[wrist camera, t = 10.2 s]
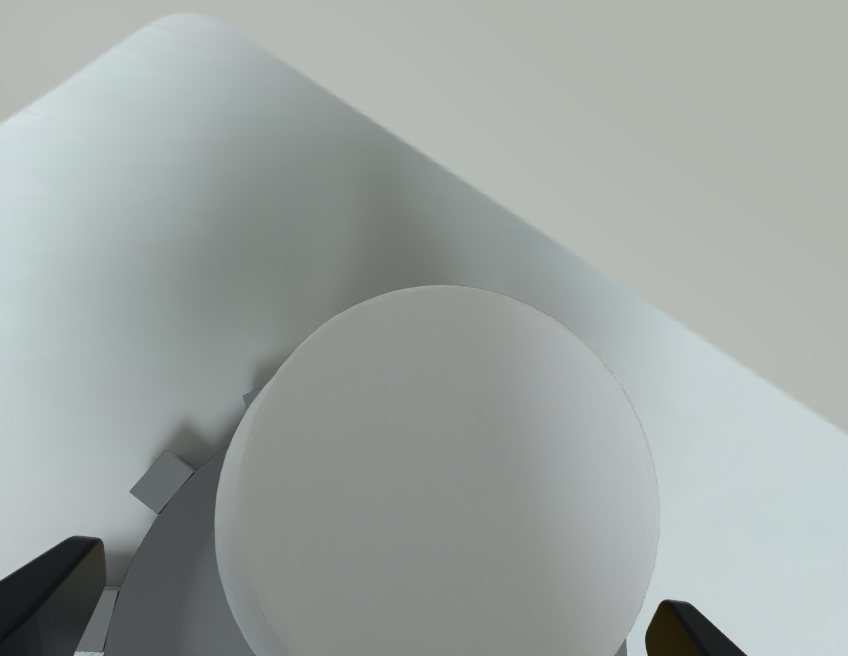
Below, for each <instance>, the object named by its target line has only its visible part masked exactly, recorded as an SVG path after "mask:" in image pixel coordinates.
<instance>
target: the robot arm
mask: <svg viewBox="0 0 848 656" xmlns="http://www.w3.org/2000/svg"><path fill="white" fill-rule="evenodd" d="M105 583H106V565H105V553H104V544H103V541H102V540H101V539H100V538H96V537H87V536H72V537H69V538H67V539H65V540H64V541H62V542H61V543H59V544H58V545H56V546H54V547H53V548H51V549H50V550H48V551H46V552H45V553H43V554H42V555H40V556H38V557H37V558H35V559H34V560H32V561H31V562H29V563H27V564H26V565H24V566H23V567H21V568H19V569H18V570H16V571H15V572H13V573H12V574H10V575H8V576H7V577H5V578H4V579H2V580H0V656H73V655H74V653H75V651H76V649H77V647H78V645H79V643H80V640H81V638H82V636H83V634H84V632H85V630H86V628H87V625H88V623H89V621H90V619H91V617H92V615H93V613H94V610H95V608H96V606H97V604H98V602H99V600H100V598H101V595H102V593H103V590H104V587H105ZM645 644H646V650H647V654H648V656H747V655H746V654H745V653H744V652H743V651H742V650H740V649H739V648H738V647H737V646H736V645H735V644H734V643H733V642H732V641H731V640H730V639H729V638H727V637H726V636H725V635H724V634H723V633H722V632H721V631H720V630H719V629H718V628H717V627H715V626H714V625H713V624H712V623H711V622H710V621H709V620H708V619H707V618H706V617H705V616H704V615H702V614H701V613H700V612H699V611H698V610H697V609H696V608H695V607H694V606H692V605H691V604H690V603H688V602H685V601H677V600H668V599H667V600H663V601H662V602H661V603H660V604H659V606H658V608H657V610H656V612H655V614H654V616H653V619H652V621H651V623H650V625H649V627H648V629H647V631H646V636H645Z"/></svg>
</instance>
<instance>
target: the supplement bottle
mask: <svg viewBox="0 0 848 656" xmlns="http://www.w3.org/2000/svg"><path fill="white" fill-rule="evenodd" d="M214 522H215V550H216V558H217V564H218V570H219V575H220V578H221V581H222V585H223V588H224V592H225V595H226V599H227V601H228V604H229V606H230V609H231V611H232V614H233V616H234V618H235V620H236V622H237V624H238V626H239V628H240V630H241V632H242V634H243V636H244V638H245V639H246V641H247V642H248V644H249V646H250V647H251V649H252V650H253V652H254V653H255V655H256V656H615V654H616V653H617V651H618V650H619V648H620V646H621V645H622V643H623V642H624V640H625V638H626V637H627V635H628V634H629V632H630V631H631V629H632V627H633V625H634V623H635V621H636V618H637V616H638V614H639V612H640V610H641V608H642V605H643V602H644V599H645V595H646V592H647V589H648V586H649V583H650V580H651V576H652V573H653V570H654V566H655V560H656V555H657V548H658V540H659V529H660V509H659V493H658V484H657V477H656V472H655V466H654V462H653V458H652V455H651V451H650V447H649V444H648V441H647V438H646V436H645V433H644V431H643V428H642V426H641V423H640V421H639V419H638V416H637V414H636V412H635V410H634V408H633V406H632V404H631V402H630V400H629V399H628V397H627V395H626V393H625V391H624V390H623V388H622V387H621V385H620V384H619V382H618V381H617V379H616V378H615V377H614V375H613V374H612V372H611V371H610V370H609V369H608V368H607V366H606V365H605V364H604V363H603V361H602V360H601V359H600V358H599V357H598V356H597V355H596V354H595V353H594V352H593V351H592V350H591V349H590V348H589V347H588V346H587V345H586V344H585V343H584V342H583V341H582V340H581V339H580V338H579V337H578V336H577V335H576V334H574V333H573V332H572V331H570V330H569V329H568V328H566V327H565V326H564V325H562V324H561V323H560V322H558V321H557V320H555V319H554V318H552V317H551V316H549V315H547V314H545V313H544V312H542V311H540V310H539V309H537V308H534V307H532V306H530V305H528V304H526V303H523V302H520V301H518V300H516V299H514V298H511V297H508V296H506V295H503V294H499V293H495V292H492V291H488V290H484V289H479V288H472V287H466V286H455V285H427V286H418V287H412V288H405V289H400V290H396V291H392V292H388V293H385V294H382V295H379V296H376V297H373V298H371V299H368V300H366V301H363V302H361V303H359V304H356V305H354V306H352V307H351V308H349V309H347V310H345V311H343V312H341V313H339V314H337V315H336V316H334V317H332V318H331V319H330V320H328V321H327V322H326V323H324V324H323V325H322V326H320V327H319V328H318V329H317V330H316V331H314V332H313V333H312V334H311V335H310V336H309V337H308V338H306V339H305V340H304V341H303V342H302V343H301V344H300V345H299V346H298V347H297V348H296V350H295V351H294V352H293V353H292V354H291V355H290V356H289V358H288V359H287V360H286V361H285V362H284V363H283V364H282V366H281V367H280V368H279V369H278V371H277V373H276V374H275V375H274V376H273V378H272V379H271V380H270V381H269V382H268V383H267V384H266V385H265V386H264V388H263V389H262V390H261V392H260V393H259V394H258V395H257V397H256V398H255V399H254V401H253V402H252V403H251V405H250V406H249V408H248V410H247V411H246V413H245V415H244V417H243V418H242V420H241V422H240V424H239V426H238V428H237V430H236V432H235V434H234V436H233V439H232V441H231V443H230V446H229V448H228V450H227V453H226V457H225V460H224V464H223V467H222V471H221V475H220V480H219V485H218V490H217V495H216V507H215V519H214Z"/></svg>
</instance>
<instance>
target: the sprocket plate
mask: <svg viewBox="0 0 848 656" xmlns="http://www.w3.org/2000/svg"><path fill="white" fill-rule="evenodd" d="M263 388H264V387H263ZM263 388H261V389H258V390H256V391H253V392H251V393H248V394H246V395H243V399H244V401H245V404H246V407H247V409H248V408H249V406H250V405H251V403H252V402H253V401H254V399H255V398H256V397H257V395H258V394H259V393H260V392H261V390H262V389H263ZM229 446H230V444H229V445H227V446H226V447H224V448H223V449H222V450H221V451H219V452H218V453H217V454H216V455H215V456H213V457H212V458H211V459H210V460H209V461H207V462H206V463H205V464H204V465H203V466H201V467H200V468H199V469H198V470H195V469H194V468H193V467H191V466H190V465H189V464H187V463H186V462H185V461H183V460H182V459H181V458H179V457H178V456H177V455H175V454H172V453H170V452H168V451H165V452H164V453H163V454H162V455H161V457H160V458H159V459H158V460H157V461H156V462H155V463H154V464H153V466H152V467H151V468H150V469H149V470H148V471H147V472H146V473H145V475H144V476H143V477H142V478H141V479H140V480H139V481H138V482H137V484H136V485H135V486H134V487H133V488H132V489H131V490H130V491H129V492H130V493H131V494H133V495H134V496H135V497H136V498H138V499H139V500H140V501H142V502H143V503H144V504H145V505H147V506H148V507H149V508H151V509H152V510H153V511H155V512H156V513H157V514H160V515H159V516H158V517H157V519H156V520H155V521H154V523H153V525H152V527H151V528H150V530H149V532H148V533H147V535H146V537H145V538H144V540H143V542H142V543H141V545H140V547H139V548H138V550H137V552H136V554H135V557H134V559H133V561H132V563H131V565H130V568H129V570H128V572H127V574H126V577H125V579H124V581H123V583H122V586H121V587H119V586H105V587H104V590H103V593H102V595H101V598H100V600H99V602H98V604H97V606H96V608H95V610H94V613H93V615H92V617H91V619H90V621H89V623H88V625H87V628H86V630H85V632H84V634H83V636H82V638H81V640H80V643H79V645H78V647H77V649H76V651H83V652H104V655H103V656H256V655H255V653H254V652H253V650H252V649H251V647H250V646H249V644H248V642H247V641H246V639H245V638H244V636H243V634H242V632H241V630H240V628H239V626H238V624H237V622H236V620H235V618H234V616H233V614H232V611H231V609H230V606H229V604H228V601H227V599H226V595H225V592H224V588H223V585H222V581H221V578H220V575H219V570H218V564H217V558H216V550H215V522H214V519H215V507H216V495H217V490H218V485H219V480H220V475H221V471H222V467H223V464H224V460H225V457H226V453H227V450H228V448H229ZM615 656H627V648H626V638H625V640H624V642H623V643H622V645H621V646H620V648H619V650H618V651H617V653H616V654H615Z"/></svg>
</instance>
